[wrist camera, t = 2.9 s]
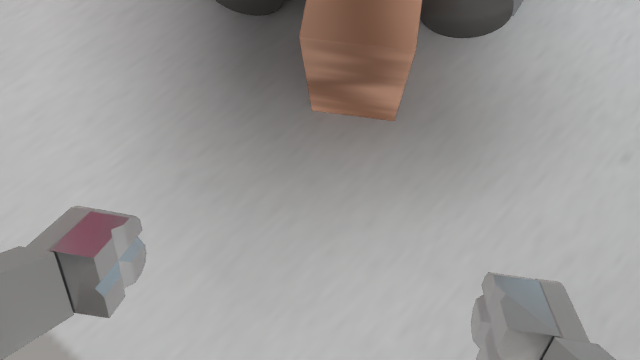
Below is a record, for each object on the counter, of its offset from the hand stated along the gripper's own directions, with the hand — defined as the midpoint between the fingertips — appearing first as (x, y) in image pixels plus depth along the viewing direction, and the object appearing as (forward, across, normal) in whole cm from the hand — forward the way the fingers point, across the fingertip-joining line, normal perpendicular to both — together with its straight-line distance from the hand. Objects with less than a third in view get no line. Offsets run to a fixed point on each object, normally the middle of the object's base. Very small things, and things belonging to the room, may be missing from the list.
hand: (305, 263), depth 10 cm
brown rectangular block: (+19, 0, +2) cm, 19 cm away
